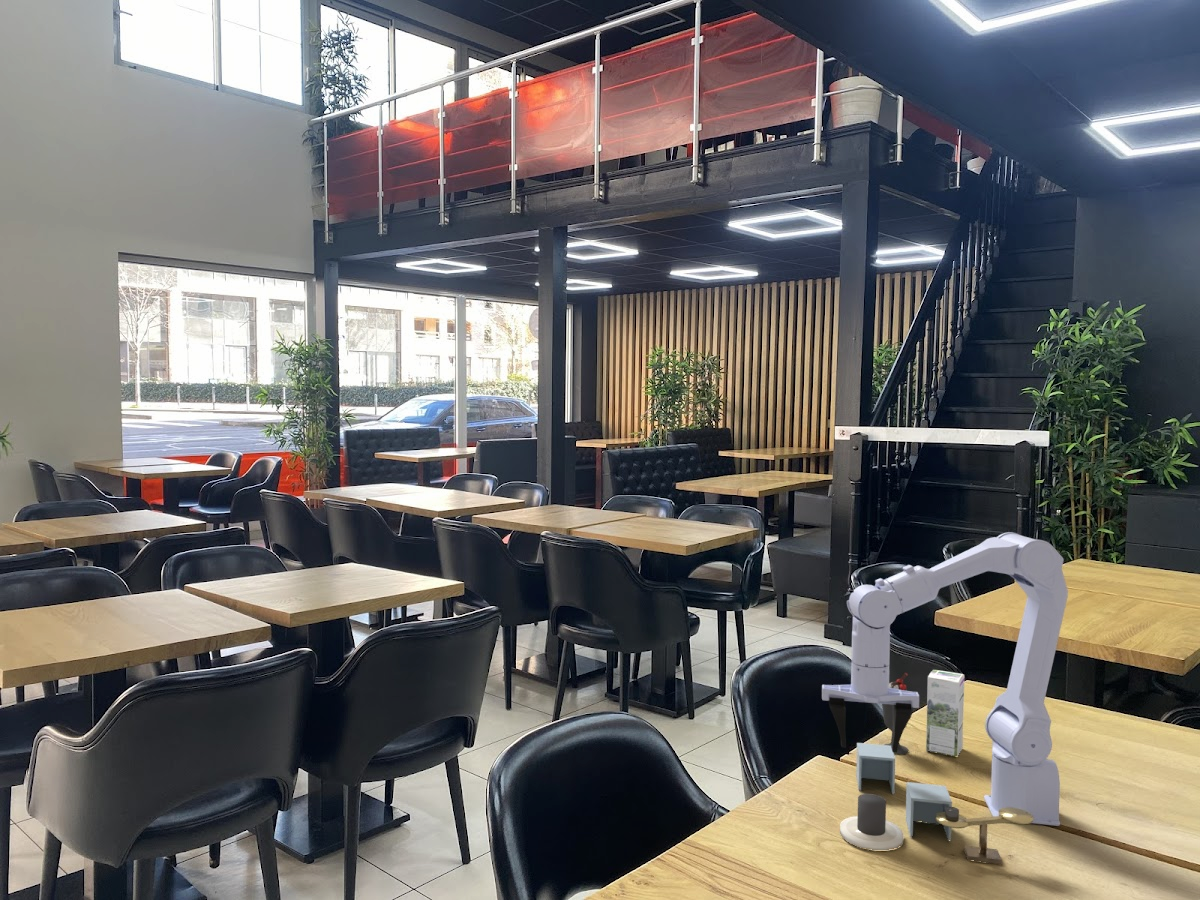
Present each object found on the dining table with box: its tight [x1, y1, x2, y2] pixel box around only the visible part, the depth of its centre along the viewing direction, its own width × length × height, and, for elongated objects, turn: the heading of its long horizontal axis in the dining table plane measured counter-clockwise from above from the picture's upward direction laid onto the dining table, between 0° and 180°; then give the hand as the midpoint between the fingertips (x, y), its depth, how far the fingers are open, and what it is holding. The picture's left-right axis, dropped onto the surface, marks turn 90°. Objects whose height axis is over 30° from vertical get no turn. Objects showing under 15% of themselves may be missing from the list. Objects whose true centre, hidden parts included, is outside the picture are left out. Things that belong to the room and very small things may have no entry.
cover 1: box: [855, 742, 896, 795], centre depth 145 cm, size 6×6×6 cm
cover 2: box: [905, 781, 953, 842], centre depth 129 cm, size 6×6×6 cm
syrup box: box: [925, 669, 965, 757], centre depth 160 cm, size 6×6×14 cm
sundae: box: [881, 672, 910, 755], centre depth 161 cm, size 7×7×15 cm
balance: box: [936, 806, 1033, 866], centre depth 121 cm, size 13×4×7 cm, turn 77°
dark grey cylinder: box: [857, 793, 887, 836], centre depth 127 cm, size 4×4×4 cm
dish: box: [839, 815, 904, 850], centre depth 127 cm, size 9×9×1 cm
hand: (868, 747), depth 135 cm, fingers open, 7 cm apart
